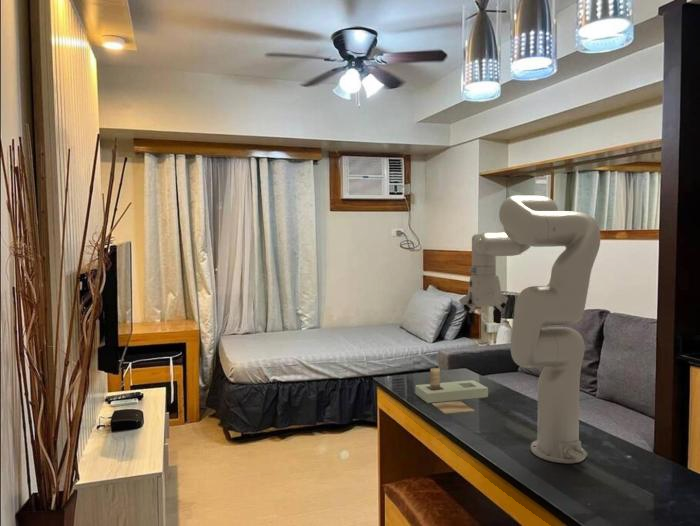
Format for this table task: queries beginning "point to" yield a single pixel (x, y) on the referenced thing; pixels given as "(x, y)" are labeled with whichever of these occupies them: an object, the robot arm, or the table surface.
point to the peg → (434, 379)
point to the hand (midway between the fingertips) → (484, 323)
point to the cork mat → (452, 407)
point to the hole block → (452, 391)
